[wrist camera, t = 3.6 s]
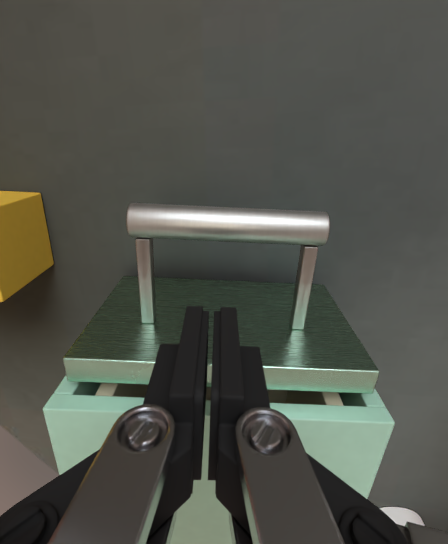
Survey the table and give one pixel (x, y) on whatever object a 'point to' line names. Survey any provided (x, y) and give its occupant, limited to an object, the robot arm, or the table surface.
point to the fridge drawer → (221, 293)
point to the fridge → (203, 503)
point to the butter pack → (22, 241)
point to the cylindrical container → (402, 515)
